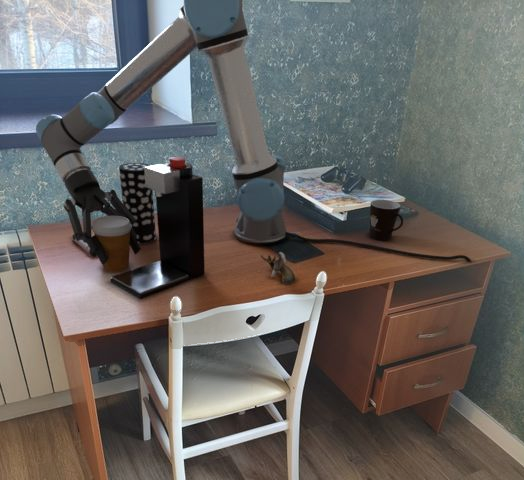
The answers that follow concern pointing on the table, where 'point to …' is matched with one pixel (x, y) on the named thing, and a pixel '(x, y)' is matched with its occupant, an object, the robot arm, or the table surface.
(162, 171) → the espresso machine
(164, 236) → the tower
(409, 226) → the table surface
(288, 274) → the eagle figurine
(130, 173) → the spotted tube
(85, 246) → the marker
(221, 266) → the table surface
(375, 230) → the coffee mug
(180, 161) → the button
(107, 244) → the disposable coffee cup
